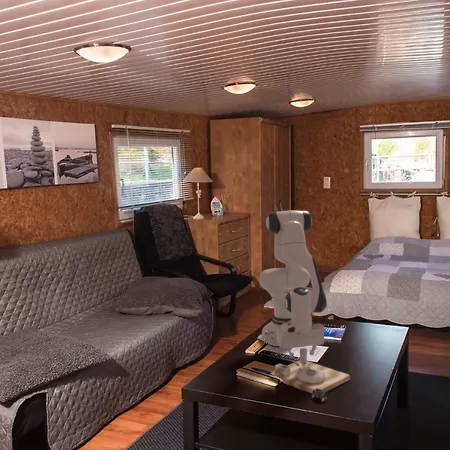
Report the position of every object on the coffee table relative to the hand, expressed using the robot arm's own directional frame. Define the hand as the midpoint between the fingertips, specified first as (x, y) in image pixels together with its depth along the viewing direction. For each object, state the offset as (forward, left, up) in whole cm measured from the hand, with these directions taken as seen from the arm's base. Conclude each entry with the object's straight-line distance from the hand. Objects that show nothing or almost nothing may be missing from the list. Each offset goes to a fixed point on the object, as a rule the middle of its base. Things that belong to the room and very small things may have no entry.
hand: (301, 355), depth 229 cm
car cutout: (+24, -15, -9) cm, 30 cm away
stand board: (+6, -2, -8) cm, 10 cm away
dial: (+6, -3, -6) cm, 9 cm away
